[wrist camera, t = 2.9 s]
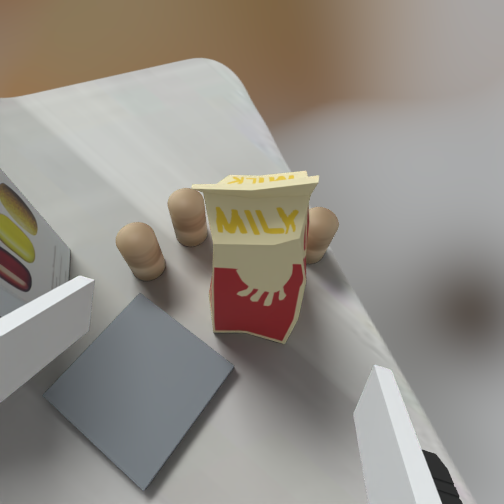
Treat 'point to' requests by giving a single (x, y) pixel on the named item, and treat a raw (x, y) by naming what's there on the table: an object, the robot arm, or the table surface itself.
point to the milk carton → (258, 251)
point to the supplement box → (27, 251)
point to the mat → (139, 388)
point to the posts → (203, 234)
